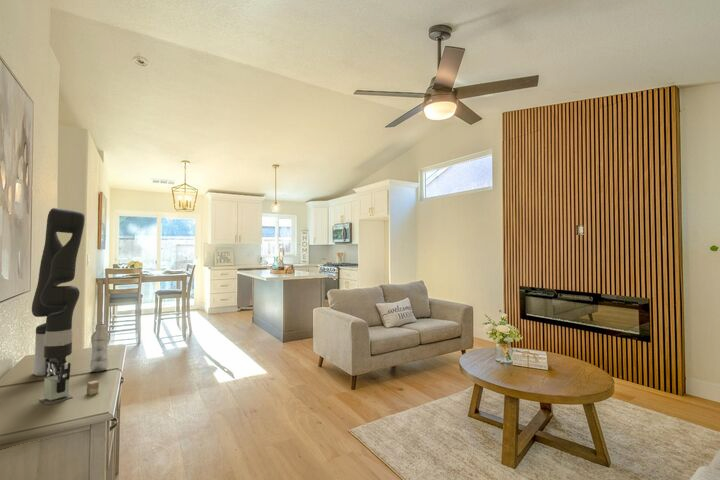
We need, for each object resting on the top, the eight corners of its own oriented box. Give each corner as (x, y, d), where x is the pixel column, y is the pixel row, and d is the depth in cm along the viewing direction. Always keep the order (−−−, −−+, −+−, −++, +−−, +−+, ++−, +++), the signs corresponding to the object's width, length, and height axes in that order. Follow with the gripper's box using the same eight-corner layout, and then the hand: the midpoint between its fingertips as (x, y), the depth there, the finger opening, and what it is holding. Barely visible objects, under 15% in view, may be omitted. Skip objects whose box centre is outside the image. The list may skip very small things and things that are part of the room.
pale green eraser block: (43, 397, 122) (44, 378, 122) (62, 392, 126) (62, 373, 127) (50, 400, 119) (50, 380, 120) (68, 395, 124) (69, 376, 124)
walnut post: (39, 400, 121) (40, 380, 122) (63, 393, 128) (64, 374, 128) (47, 405, 118) (48, 384, 118) (72, 397, 124) (73, 377, 124)
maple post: (86, 393, 128) (87, 382, 128) (94, 391, 130) (95, 380, 130) (90, 395, 126) (90, 384, 126) (98, 392, 129) (98, 381, 129)
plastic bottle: (98, 374, 148) (100, 326, 149) (85, 372, 149) (87, 325, 150) (112, 369, 154) (113, 323, 155) (99, 367, 156) (101, 322, 156)
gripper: (36, 342, 124) (34, 389, 123) (53, 347, 117) (51, 398, 116) (62, 337, 130) (60, 382, 130) (80, 342, 123) (78, 390, 123)
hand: (56, 389), depth 123 cm, fingers open, 6 cm apart
